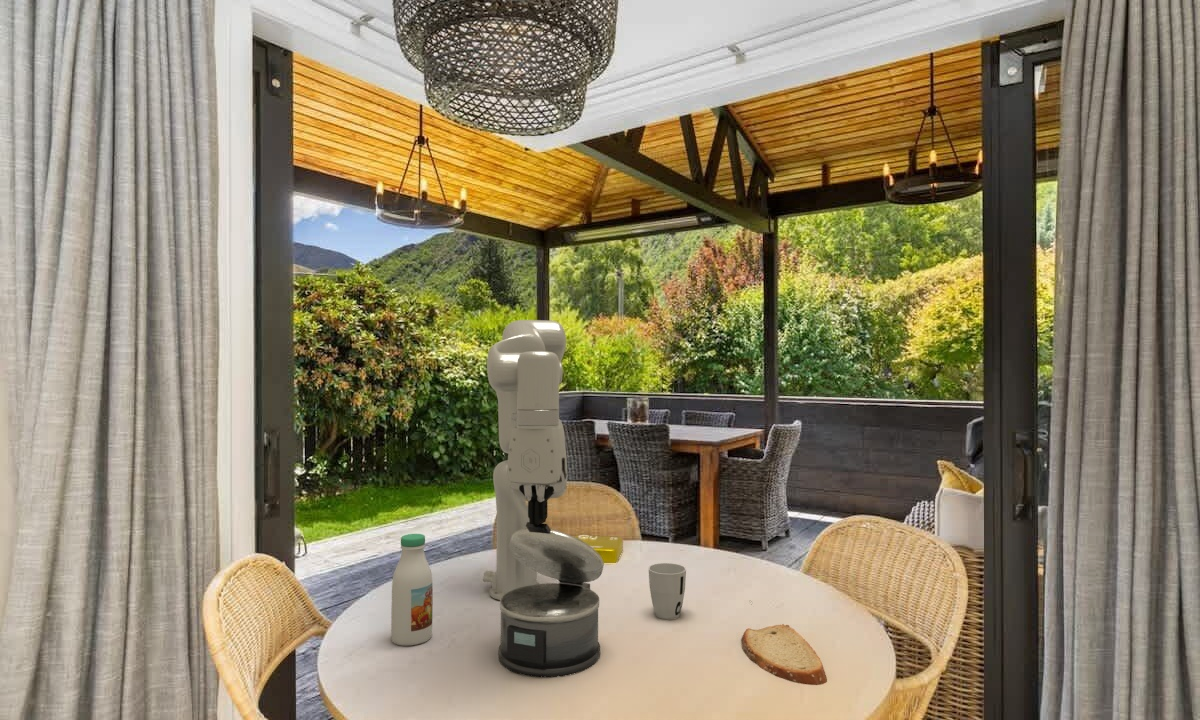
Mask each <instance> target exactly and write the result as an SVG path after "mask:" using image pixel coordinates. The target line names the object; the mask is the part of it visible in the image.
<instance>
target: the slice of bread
mask: <svg viewBox="0 0 1200 720" xmlns="http://www.w3.org/2000/svg"><path fill="white" fill-rule="evenodd" d="M740 640H741V641H740V642H741V648H742V650H743V652H744V654H745V655H746V656H747V657H748V659H749V660H750V661H752V662H754V663H755V664H756V665H757V666H758V668H761V669H762V670H763V671H765V672H767V673H769V674H771V675H773V676H775V677H777V678H780V679H783V680H785V681H786V680H787V681H789V682H793V683H797V684H801V685H810V686H821V685H824V684H826V683H827V682H828V679H827V678H828V677H827V675H826V671H825V669H824V666H823V663H822V660H821V658H820V657H819V655H818V654H817V652H816V651H815V650H814V648H813V647H812V646H811V645H810V643H808V641H806V638H804V637H803V636H802V635H801V634H800V633H798V632H797V630H795V629H794V628H792V627H791V626H790V625H789V624H784V623H783V624H775V625H772V626H766V627H764V628H761V629H760V628H759V629H752V628H746V629H745V631H744V632H743V635H742V636H741V639H740Z"/></svg>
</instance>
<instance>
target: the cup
mask: <svg viewBox="0 0 1200 720" xmlns="http://www.w3.org/2000/svg"><path fill="white" fill-rule="evenodd" d="M686 576H687V568H686V567H685V566H684V565H681V564H678V563H672V562H661V563H654V564H651V565H649V566H648V580H649V581H648V583H649V591H650V598H651V605H652V607H653V610H654V614H655V616H656V617H657V618H659V619H661V620H662V619H663V620H675V619H678V618H679V617H680V615H681V611H682V608H683V603H684V597H685V592H686V590H685V589H686V578H687V577H686Z"/></svg>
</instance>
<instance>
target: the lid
mask: <svg viewBox="0 0 1200 720" xmlns="http://www.w3.org/2000/svg"><path fill="white" fill-rule="evenodd" d="M526 527H527V528H524V529H520V530H518V531H516V532H515V533H514V534H513V535H512V537H511V540H510V542H509V548H510V551H511V553H512V554H513V555H514V557H515V558H516V559H517V560H518V561H520V562H521V563H522V564H524V565H525V566H526V567H528V568H530V569H532V570H534V571H535V572H537V574H540V575H542V576H545V577H548V578H551V579H554V580H558V583H560V582H561V583H568V584H576V585H583V583H589V582H593V581H595V580H598V579H599V578H600V577H601V576H602V573H603V570H604V565H605V564H604V563H603V560H602V558H601V556H600V555H599V554H598V553H597V552H596V551H595V550H594V549H593V548H592V547H591V546H589V545H588V544H586V543H585V542H583V541H581V540H579V539H577V538H575V537H574V536H573V535H570V534H568V533H564V532H562V531H559V530H554V529H551V528H550V526H549V524H548V523H542V524H539V525H536V524H530V523H529V522H527V524H526Z"/></svg>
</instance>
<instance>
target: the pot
mask: <svg viewBox="0 0 1200 720" xmlns="http://www.w3.org/2000/svg"><path fill="white" fill-rule="evenodd" d="M599 609H600V597H599V595H598V593H596V592H595V591H594V590H591V583H589V582H585V583H583V585H576V584H568V583H561V582H557V583H554V582H552V583H550V582H549V583H546V582H545V583H539V584H535V585H528V586H524V587H520V588H517V589H514V590H511V591H509V592H507V593H506V594H504V595H503V596H502V597H501V599H500V600H499V610H500V644H499V646H498V650H497V651H498V653H497V656H498V661H499V663H500V664H501V666H502V667H503V668H504V669H506V670H508V671H511V672H513V673H515V674H518V675H521V676H525V677H531V678H558V677H557V676H560V677H566V676H565V675H567V676H570V674H571V675H575V674H578V673H581V672H583V671H585V669H586V670H588V669H590V668H591V667H593V666H594V665H595V664H596V663H597V662H598V661H599V660H600V658H601V644H600V641H599ZM598 659H599V660H598ZM592 665H593V666H592ZM589 667H590V668H589ZM587 668H588V669H587ZM574 673H575V674H574Z"/></svg>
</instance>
